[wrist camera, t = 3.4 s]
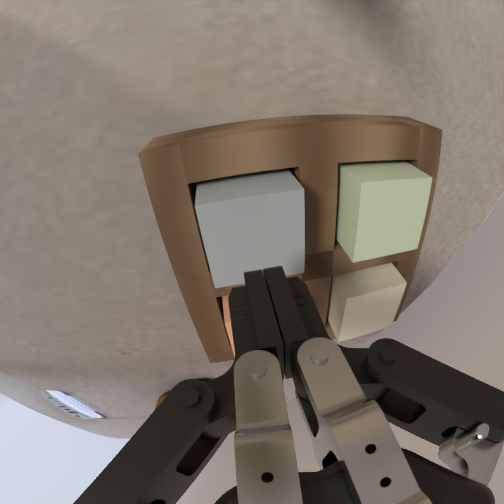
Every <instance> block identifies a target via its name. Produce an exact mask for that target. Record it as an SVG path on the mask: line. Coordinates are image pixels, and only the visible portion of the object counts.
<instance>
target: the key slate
mask: <svg viewBox="0 0 504 504" xmlns="http://www.w3.org/2000/svg"><path fill="white" fill-rule="evenodd" d="M195 209H196V214H197V218H198V222H199V226H200V231H201V235H202V239H203V243H204V247H205V251H206V255H207V259H208V263H209V267H210V271H211V275H212V278H213V282H214V286H215V288H220V287H226V286H232V285H238V284H244V283H245V280H244V274H243V272H248V271H254V270H260V269H262V271H263V269H265V268H270V267H276V266H282V267H283V270H284V273H285V275H286V276H288V275H294V274H299V273H304V269H305V203H304V188H303V187H302V186H301V184H300V183H299V182H298V181H297V179H296V178H295V177H294V176H293V175H292V173H291V172H290V171H289V170H288V169H281V170H273V171H266V172H258V173H251V174H245V175H238V176H232V177H226V178H220V179H214V180H209V181H203V182H198V183H197V189H196V199H195Z"/></svg>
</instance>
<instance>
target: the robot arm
mask: <svg viewBox="0 0 504 504" xmlns="http://www.w3.org/2000/svg"><path fill="white" fill-rule="evenodd" d="M243 274H244V280H245V286H240V287H234V288H232V290H231V292H230V294H229V297H228V303H229V311H230V319H231V327H232V335H233V342H234V349H235V360H234V363H233V365H232V367H231V368H230V369H229V370H228V371H227V372H226V373H225V374H223V375H222V376H220V377H218V378H216V379H213V380H211V381H209V382H207V383H205V382H204V381H201V380H198V379H188V380H184V381H182V382H180V383H178V384H177V385H176V386H175V387H174V388H173V389H172V390H171V391H170V392H169V394H168V395H167V396H166V397H165V398H164V400H163V401H162V402H161V403H160V405H159V406H158V407H157V408H156V409H155V411H154V412H153V413H152V414H151V415H150V416H149V418H148V419H147V420H146V421H145V422H144V424H143V425H142V426H141V427H140V428H139V429H138V431H137V432H136V433H135V434H134V435H133V437H132V438H131V439H130V440H129V441H128V442H127V444H126V445H125V446H124V447H123V448H122V449H121V451H120V452H119V453H118V454H117V455H116V457H114V459H113V460H112V461H111V462H110V463H109V464H108V465H107V467H106V468H105V469H104V470H103V471H102V472H101V473H100V474H99V476H98V477H97V478H96V479H95V480H94V481H93V482H92V484H91V485H90V486H89V487H88V488H87V489H86V490H85V491H84V492H83V493H82V494H81V496H80V497H79V498H78V499H77V500H76V501H75V502H74V503H73V504H176V502H177V501H178V500H179V498H181V496H182V495H183V494H184V493H185V491H186V490H187V489H188V488H189V486H190V485H191V484H192V483H193V481H194V480H195V479H196V478H197V476H198V475H199V474H200V472H201V471H202V470H203V468H204V467H205V466H206V465H207V463H208V462H209V460H210V459H211V458H212V456H213V455H214V454H215V452H216V451H217V449H218V448H219V447H220V445H221V444H222V443H223V441H224V440H225V438H226V437H227V435H228V434H229V433H231V432H233V431H235V430H236V432H235V437H234V447H235V463H236V478H237V486H235V487H233V488H232V489H230V490H228V491H227V492H226V493H225V494H223V495H222V496H221V497H220V498H219V499H218V500H217V501H216V502H215V504H495V499H494V495H493V493H492V491H491V490H490V488H488V487H487V485H488V483H489V481H490V479H491V476H492V474H493V471H494V469H495V466H496V464H497V461H498V458H499V455H500V452H501V450H502V446H503V444H504V392H503V391H501V390H499V389H497V388H495V387H492V386H490V385H488V384H486V383H484V382H481V381H479V380H477V379H475V378H473V377H471V376H468V375H467V374H465V373H462V372H460V371H458V370H456V369H454V368H452V367H450V366H448V365H446V364H443V363H441V362H439V361H437V360H435V359H433V358H431V357H429V356H427V355H425V354H422V353H421V352H419V351H416V350H414V349H412V348H410V347H408V346H406V345H404V344H402V343H400V342H398V341H396V340H393V339H388V338H384V339H379V340H377V341H376V342H374V343H373V344H372V345H371V346H370V347H369V348H346V347H343V346H340V345H338V344H336V343H335V342H334V341H333V340H332V339H331V338H330V337H329V335H328V333H327V331H326V329H325V326H324V324H323V322H322V319H321V317H320V315H319V312H318V310H317V308H316V305H315V304H314V301H313V298H312V296H311V294H310V292H309V289H308V287H307V285H306V283H305V282H303V281H302V280H301V279H300V278H299V277H298V276H294V277H289V278H286V275H285V273H284V270H283V267H282V266H276V267H270V268H265V269H263V271H262V269H260V270H254V271H248V272H243ZM284 374H285V377H286V379H287V378H292V377H293V381H294V384H295V395H296V398H297V401H298V404H299V407H300V409H301V412H302V415H303V417H304V420H305V423H306V425H307V428H308V431H309V433H310V436H311V439H312V445H313V450H314V454H315V456H316V459H317V462H318V464H319V467H320V471H318V472H298V468H297V461H296V455H295V449H294V442H293V436H292V431H291V427H290V424H289V418H288V412H287V406H286V399H285V393H284V387H283V379H284ZM387 421H388V422H391V423H392V424H394V425H396V426H398V427H400V428H402V429H404V430H406V431H408V432H410V433H412V434H414V435H416V436H418V437H420V438H422V439H425V440H427V441H429V442H431V443H433V444H436V445H438V446H439V452H438V457H439V459H440V460H442V461H443V462H444V463H445V464H447V465H448V466H449V467H450V468H451V470H452V471H451V470H449V469H446V468H444V467H442V466H440V465H438V464H436V463H434V462H431V461H430V460H428V459H426V458H424V457H422V456H420V455H418V454H416V453H414V452H412V451H409V450H406V449H403V448H400V446H399V444H398V442H397V440H396V438H395V436H394V434H393V432H392V429H391V428H390V426H389V424H388V422H387Z"/></svg>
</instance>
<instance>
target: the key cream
mask: <svg viewBox="0 0 504 504" xmlns="http://www.w3.org/2000/svg"><path fill="white" fill-rule="evenodd" d="M406 284H407V282H406V281H405V279H404V278H403V277H402V275H401V274H400V273H399V272H398V270H397V269H396V268H395V267H394V265H393V264H392V263H388V264H384V265H379V266H375V267H370V268H366V269H361V270H357V271H352V272H348V273H343V274H338V275H333V276H331V284H330V293H329V301H328V309H327V318H328V321H329V323H330V325H331V327H332V330H333V332H334V334H335V337H336V339H337V341H338V342H341V341H344V340H348V339H352V338H355V337H358V336H362V335H365V334H369V333H372V332H375V331H378V330H381V329H384V328H388V327H390V326H391V325H392V323H393V320H394V318H395V315H396V313H397V310H398V307H399V304H400V302H401V299H402V296H403V293H404V290H405V287H406Z"/></svg>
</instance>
